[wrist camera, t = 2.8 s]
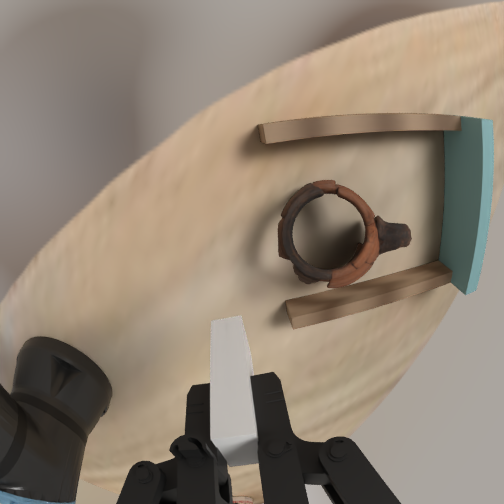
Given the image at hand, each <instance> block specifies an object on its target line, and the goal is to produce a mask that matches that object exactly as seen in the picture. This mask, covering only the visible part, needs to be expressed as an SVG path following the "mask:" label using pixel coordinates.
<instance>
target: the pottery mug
mask: <svg viewBox="0 0 504 504" xmlns="http://www.w3.org/2000/svg"><path fill="white" fill-rule="evenodd" d="M324 194H337V196H338V197H340V198H343V199H345V200H347V201H348V202H350V203H351V204H353V205H354V206H355V207H356V209H357V210H358V211H359V213H360V214H361V216H362V218H363V222H364V225H365V240H364V243H363V244H362V243H358V246H357V249H356V252H355V254H354V256H353V257H352V259H351V260H350V261H349V262H348V263H347V264H346V265H344V266H342V267H339V268H335V269H330V270H325V269H319V268H316V267H313V266H311V265H310V264H308V263H307V262H305V261H304V260H303V259H302V258H301V257H300V255H299V254H298V253H297V251H296V249H295V246H294V243H293V238H292V230H293V224H294V221H295V218H296V216H297V215H298V213H299V212H300V210H301V209H302V208H303V207H304V206H305V205H306V204H307V203H309V202H310V201H312V200H313V199H315V198H318V197H321V196H323V195H324ZM281 216H282V219H281V221H280V222H279V224H278V252H279V257H282V258H284V259H288V260H291V262H292V263H293V264H294V265H293V269H294V272H295V273H296V274H297V275H298V278H299V280H300V281H302V282H304V283H306V284H310V283H313V282H318V281H325V282H329V283H328V285H327V287H328V288H340V287H344V286H347V285H349V284H351V283H353V282H355V281H356V280H358V279H359V278H361V277H362V276H363V275H364V274H365V273H366V272H367V271H368V270H369V269H370V268H371V266H372V265H373V263H374V261H375V260H376V258H377V257H378V256H379V255H380V254H382V253H385V252H388V251H391V250H396V249H398V248H400V247H407V246H408V245H409V244H410V241H411V239H412V238H411V231H410V229H409V227H408V226H407V225H406V224H398V223H388V222H385V221H383V220H382V219H381V218H380V217H379V216H377V217H375V215H374V213H373V211H372V210H371V208H370V207H369V206H368V205H367V204H366V202H365V201H364V200H363V199H362V198H361V197H360V196H359V195H357V194H356V193H355V192H354V191H352V190H350V189H349V188H346V187H344V186H341V185H337V184H335V181H334V180H322V181H316V182H313V184H312V183H309V184H307V185H305V186H304V187H302V188H301V189H300V190H299V191H298V192H297V193H296V194H294V196H293V197H292V198H291V199H290V200H289V201H288V203H287V204H286V206H285V208H284V209H283V211H282V213H281ZM374 217H375V218H374Z"/></svg>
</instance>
